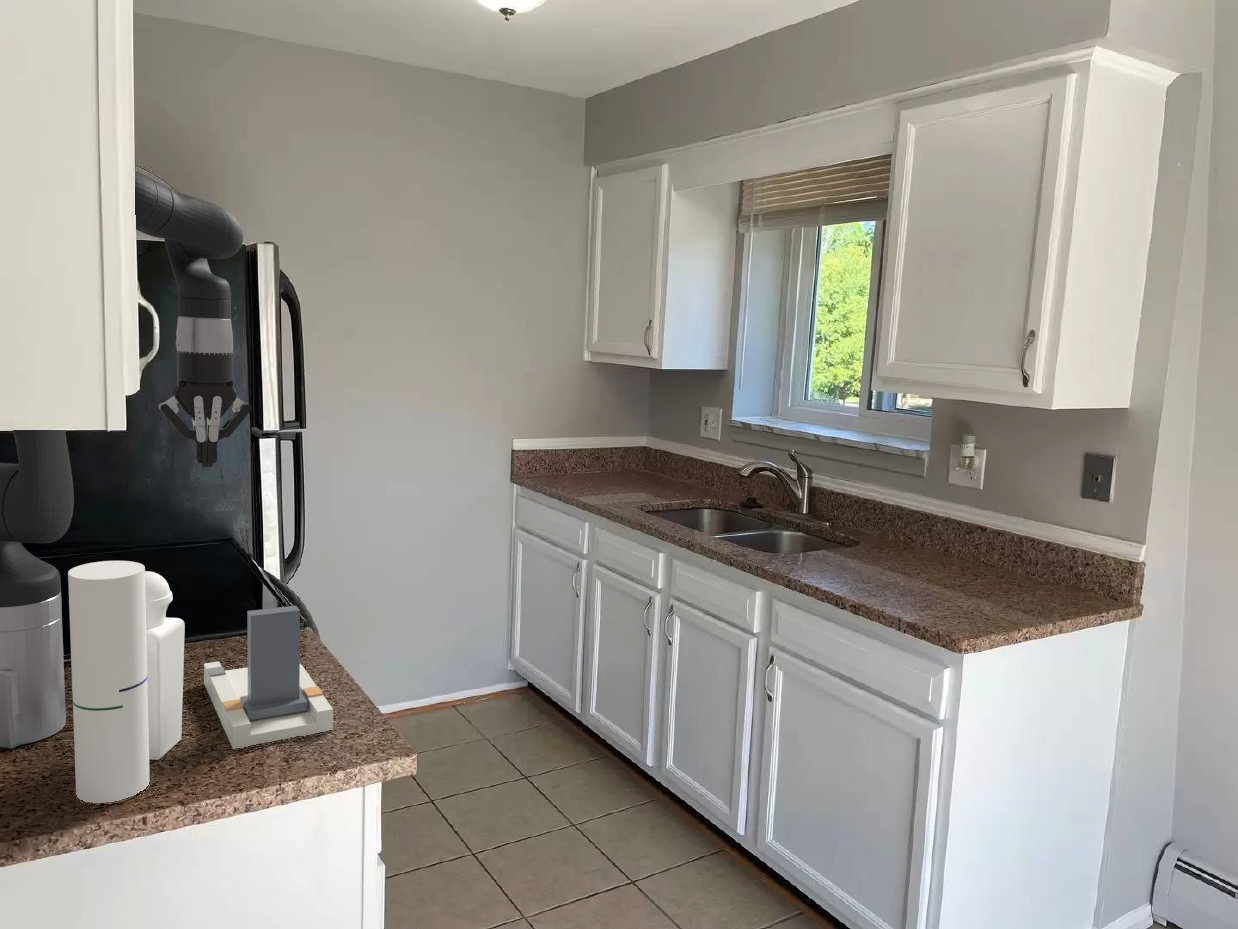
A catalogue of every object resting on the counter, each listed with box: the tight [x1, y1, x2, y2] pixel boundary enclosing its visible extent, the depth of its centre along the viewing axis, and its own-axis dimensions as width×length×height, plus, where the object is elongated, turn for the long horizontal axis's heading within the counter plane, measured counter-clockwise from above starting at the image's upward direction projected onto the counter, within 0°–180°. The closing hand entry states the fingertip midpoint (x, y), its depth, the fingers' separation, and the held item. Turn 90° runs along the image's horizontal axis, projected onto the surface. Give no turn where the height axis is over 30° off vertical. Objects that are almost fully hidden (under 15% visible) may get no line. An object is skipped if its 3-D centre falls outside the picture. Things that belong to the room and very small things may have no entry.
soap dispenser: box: [145, 570, 186, 761], centre depth 110 cm, size 6×6×22 cm
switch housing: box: [203, 660, 334, 750], centre depth 125 cm, size 22×12×3 cm, turn 32°
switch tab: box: [240, 605, 308, 721], centre depth 120 cm, size 5×7×13 cm
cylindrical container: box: [67, 560, 150, 803], centre depth 101 cm, size 7×7×25 cm
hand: (206, 466), depth 138 cm, fingers closed
